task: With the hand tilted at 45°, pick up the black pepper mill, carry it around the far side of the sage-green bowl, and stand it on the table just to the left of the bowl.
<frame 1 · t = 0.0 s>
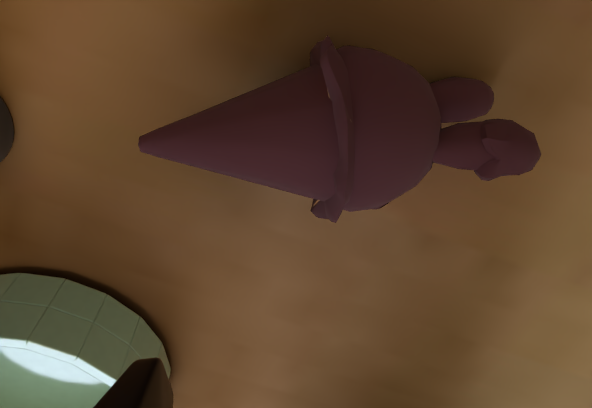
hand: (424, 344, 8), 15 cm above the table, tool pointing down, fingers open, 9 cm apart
bowl: (52, 361, 27), on the table
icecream: (327, 108, 21), on the table
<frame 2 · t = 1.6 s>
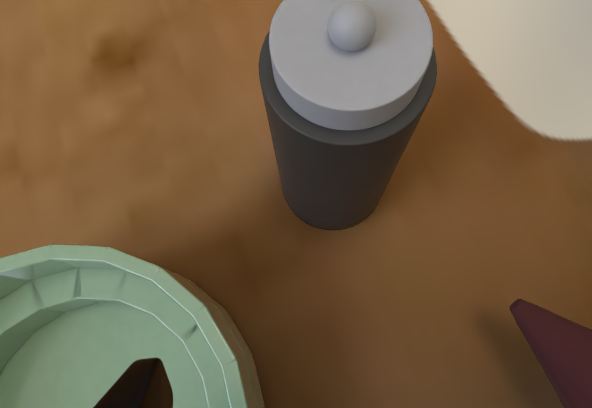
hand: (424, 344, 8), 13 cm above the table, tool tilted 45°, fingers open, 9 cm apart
pepper mill: (332, 181, 23), on the table
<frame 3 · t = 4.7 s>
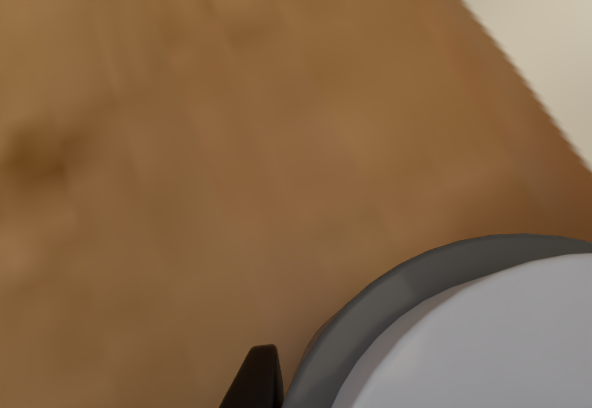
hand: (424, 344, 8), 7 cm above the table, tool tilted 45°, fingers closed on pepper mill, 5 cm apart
pepper mill: (380, 388, 14), on the table, touching gripper
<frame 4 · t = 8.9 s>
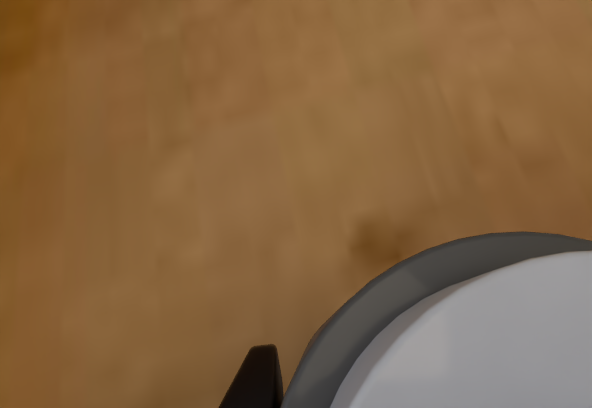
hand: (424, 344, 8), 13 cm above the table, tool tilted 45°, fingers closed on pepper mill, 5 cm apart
pepper mill: (380, 387, 14), point 7 cm above the table, touching gripper
when the fingers open (7 cm above the table, at t = 13.4 s): pepper mill stays where it is, on the table.
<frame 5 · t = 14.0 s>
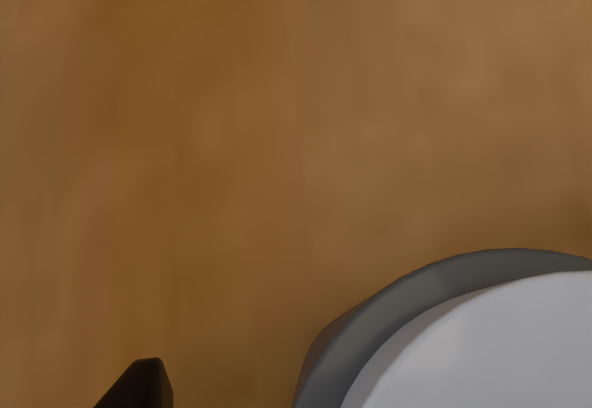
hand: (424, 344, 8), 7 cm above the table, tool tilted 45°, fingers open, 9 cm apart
pepper mill: (380, 389, 14), on the table
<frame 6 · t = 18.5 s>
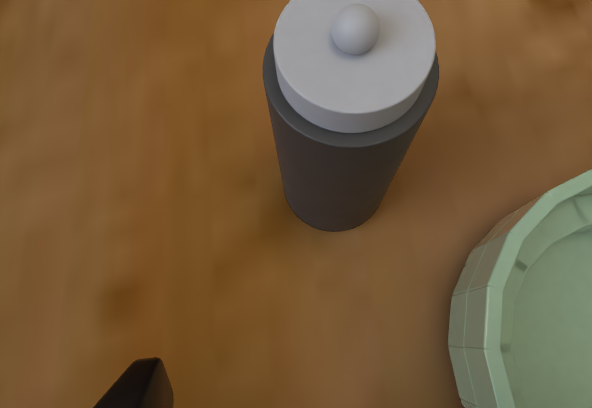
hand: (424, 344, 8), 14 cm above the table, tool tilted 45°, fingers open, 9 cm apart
pepper mill: (333, 183, 23), on the table
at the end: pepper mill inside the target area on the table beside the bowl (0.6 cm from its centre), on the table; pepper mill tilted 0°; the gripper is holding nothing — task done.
